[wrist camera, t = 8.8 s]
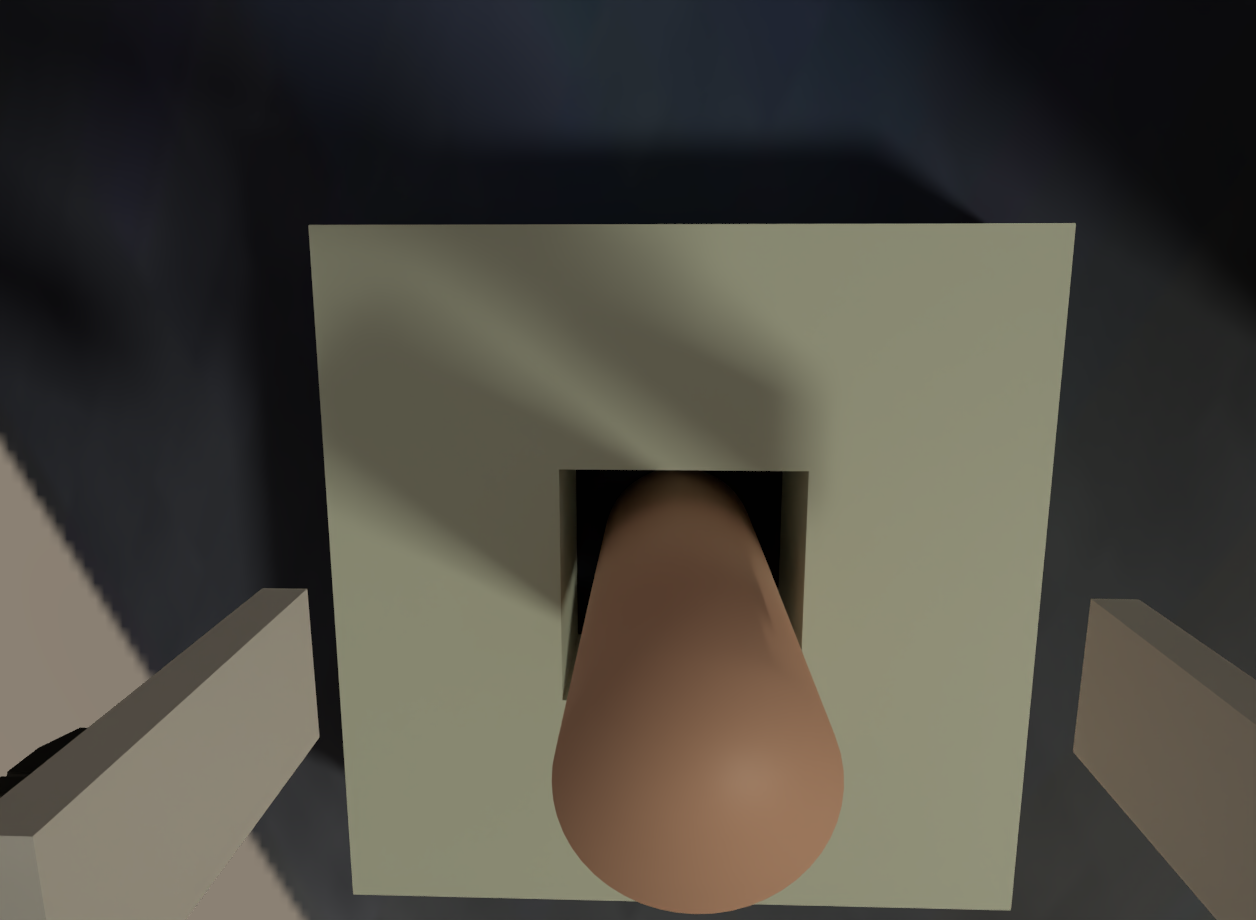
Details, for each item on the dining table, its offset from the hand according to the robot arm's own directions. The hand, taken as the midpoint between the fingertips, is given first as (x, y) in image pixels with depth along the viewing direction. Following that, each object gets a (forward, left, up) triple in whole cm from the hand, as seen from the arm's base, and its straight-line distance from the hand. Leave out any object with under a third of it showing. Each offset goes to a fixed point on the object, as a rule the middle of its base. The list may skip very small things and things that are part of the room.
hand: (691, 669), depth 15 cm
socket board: (0, 0, -9) cm, 9 cm away
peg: (0, 0, -9) cm, 9 cm away
